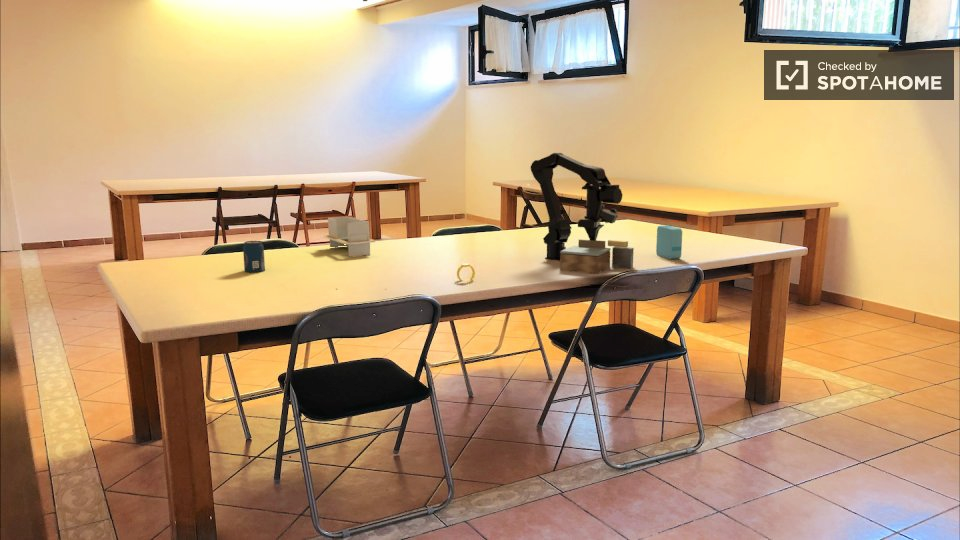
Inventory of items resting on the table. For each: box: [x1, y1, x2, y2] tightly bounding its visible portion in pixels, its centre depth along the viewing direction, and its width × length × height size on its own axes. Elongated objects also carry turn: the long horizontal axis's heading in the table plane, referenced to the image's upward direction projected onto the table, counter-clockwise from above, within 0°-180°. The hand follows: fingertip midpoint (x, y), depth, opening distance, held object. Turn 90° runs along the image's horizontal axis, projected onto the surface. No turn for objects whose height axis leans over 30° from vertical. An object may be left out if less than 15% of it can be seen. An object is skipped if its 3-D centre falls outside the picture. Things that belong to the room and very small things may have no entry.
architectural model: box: [323, 216, 376, 257], centre depth 297 cm, size 26×13×15 cm, turn 31°
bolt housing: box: [611, 246, 635, 269], centre depth 267 cm, size 7×3×7 cm, turn 62°
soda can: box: [242, 240, 266, 274], centre depth 255 cm, size 7×7×12 cm
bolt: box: [607, 239, 629, 247], centre depth 267 cm, size 7×2×2 cm, turn 62°
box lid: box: [561, 239, 611, 256], centre depth 263 cm, size 14×14×3 cm
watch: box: [456, 263, 476, 282], centre depth 243 cm, size 6×3×6 cm, turn 113°
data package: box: [655, 225, 683, 260], centre depth 287 cm, size 12×4×12 cm, turn 15°
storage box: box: [559, 250, 611, 275], centre depth 264 cm, size 14×14×6 cm
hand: (593, 244), depth 270 cm, fingers closed
